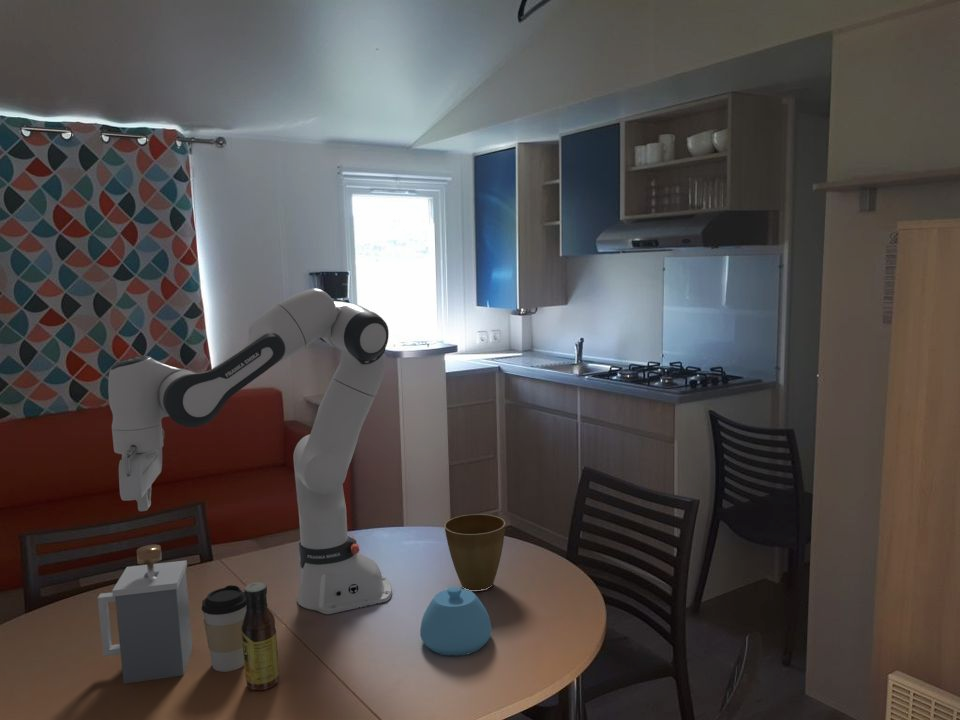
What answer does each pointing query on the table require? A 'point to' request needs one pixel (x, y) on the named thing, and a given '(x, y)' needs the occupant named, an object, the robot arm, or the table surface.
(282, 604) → the table surface
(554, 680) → the table surface
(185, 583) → the press jug
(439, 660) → the table surface
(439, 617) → the sugar bowl
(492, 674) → the table surface
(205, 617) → the coffee cup
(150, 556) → the press plunger
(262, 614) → the sauce bottle
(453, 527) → the plant pot
